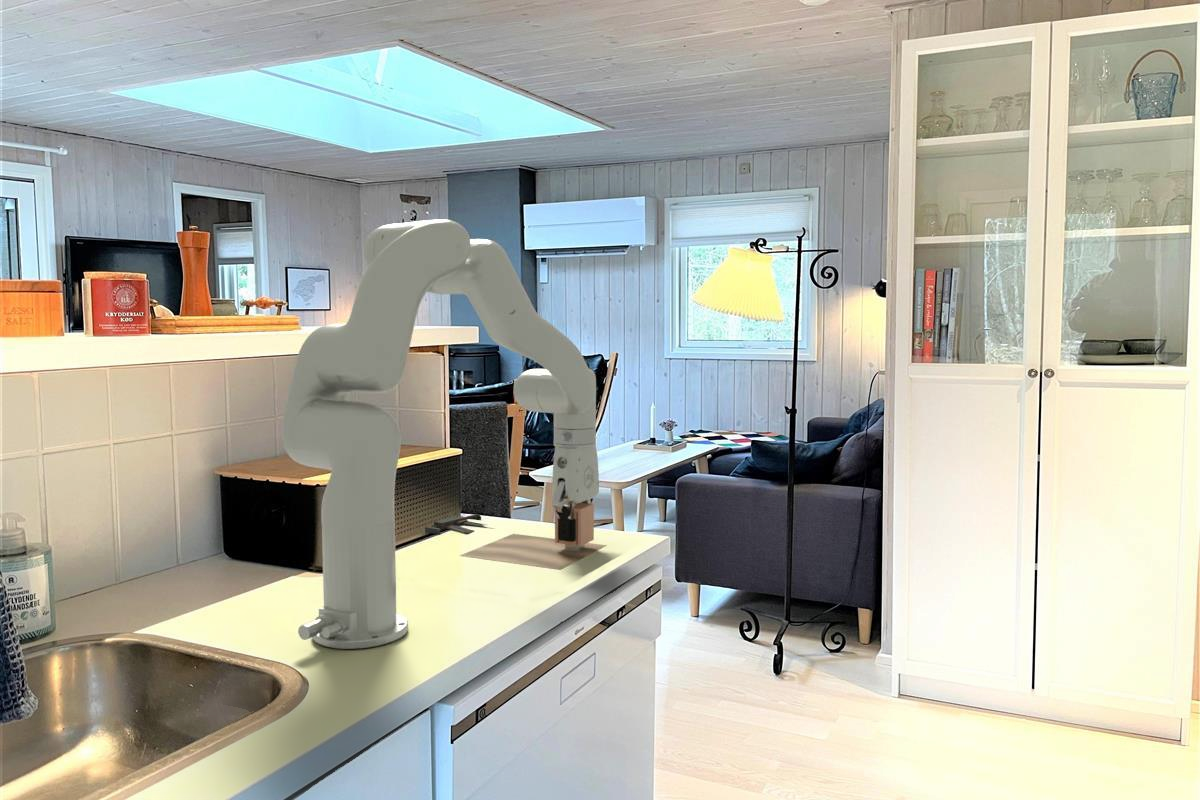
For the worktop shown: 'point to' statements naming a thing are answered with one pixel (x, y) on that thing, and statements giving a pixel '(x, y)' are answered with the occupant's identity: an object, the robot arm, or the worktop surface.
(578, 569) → the worktop surface
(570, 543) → the salmon pink block
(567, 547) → the post
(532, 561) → the board
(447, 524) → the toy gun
